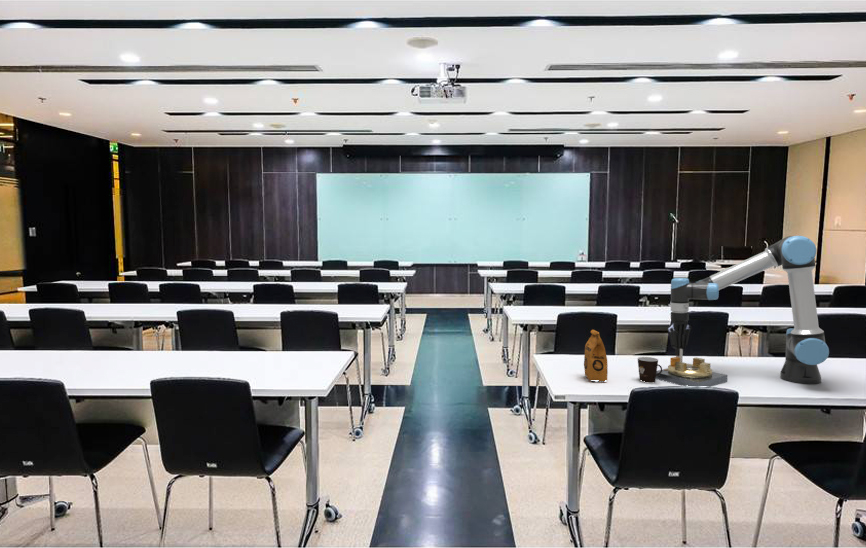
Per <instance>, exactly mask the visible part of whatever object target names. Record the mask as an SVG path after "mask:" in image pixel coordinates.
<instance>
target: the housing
mask: <svg viewBox="0 0 866 548" xmlns="http://www.w3.org/2000/svg"><path fill="white" fill-rule="evenodd" d="M660 371H661V369H659V370H658V369H657V372H656V374H658V373H660ZM658 379H659V381H662V380H664V381H663V382H666V381H667V383H670V382H671V384H674V383H675V385H679V386H682V385H688V386H710V387H713V386H716V385H720V384H723V383H727V382H728V379H729V378H728V374H723V373H721V372H720V373H719V372H715V371H712V376H711V377H706V378H690V377H682V376H677V375H674V374H671V373H669V372H668V367H667V368H664V369H663V368H662V372H661V373H660V374H659V375H657V376H656V379H655V380H658Z"/></svg>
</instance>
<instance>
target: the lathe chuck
mask: <svg viewBox="0 0 866 548" xmlns="http://www.w3.org/2000/svg"><path fill="white" fill-rule="evenodd" d="M667 368H668V372H669V373H671V374H674V375H677V376H682V377H690V378H706V377H711V376H712V372H713V369H712V368H711V363H710V362H705V358H702V357H693V358H692V363H687V362H683V361H682V362H680V358H678V357H676V356H673V357H670V363H669V365H668V366H667Z"/></svg>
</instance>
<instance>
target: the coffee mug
mask: <svg viewBox="0 0 866 548" xmlns="http://www.w3.org/2000/svg"><path fill="white" fill-rule="evenodd" d="M637 367H638V374H639V377H638V378H639V381H640V380H642V381H645V382H654V383H655V382H656V380H657V379H656V376H657V375H659V374H660V373H661V372H662V370H663V367H662V365H660V364H659V359H658V358H655V357H651V356H650V357H649V356H640V357H637ZM658 367H659V368H660V370H661V371H660V373H658V374H656V372H657V371H658ZM645 382H644V383H645Z"/></svg>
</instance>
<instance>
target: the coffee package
mask: <svg viewBox="0 0 866 548" xmlns="http://www.w3.org/2000/svg"><path fill="white" fill-rule="evenodd" d="M590 334H591V335H590V337H588V340H587V341H586V343H585V344H584V355H583V356H584V357H583V358H584V360H583V369H584V376H585V377H586V379H588V380H589V381H590V380H599V381H605V380H607V381H608V373H609V372H608V370H609V369H608V357H607V354H606V348H605V345H604V342H603V340H602V338H601V336H600V332H599V331H597V330H595V329H591V330H590Z"/></svg>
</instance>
